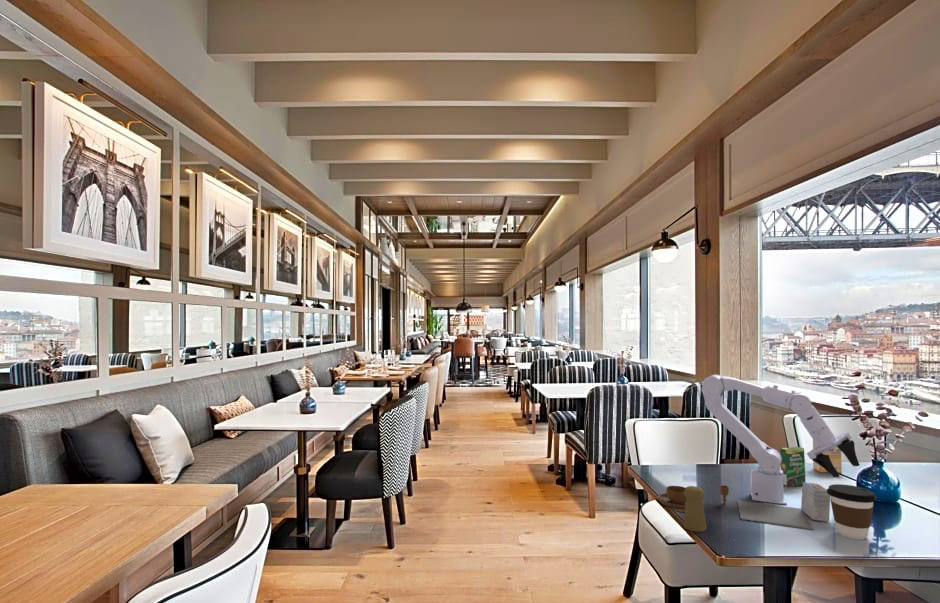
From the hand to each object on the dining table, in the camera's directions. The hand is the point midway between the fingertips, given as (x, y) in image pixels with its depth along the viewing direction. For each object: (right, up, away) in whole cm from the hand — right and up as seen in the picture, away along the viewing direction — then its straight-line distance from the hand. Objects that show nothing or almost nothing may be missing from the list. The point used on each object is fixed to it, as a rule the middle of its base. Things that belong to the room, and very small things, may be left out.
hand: (846, 471), depth 156 cm
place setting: (-45, -13, +5) cm, 47 cm away
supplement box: (+25, -15, +44) cm, 53 cm away
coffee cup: (-11, -12, -18) cm, 24 cm away
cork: (-52, -11, -13) cm, 55 cm away
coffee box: (0, -14, +26) cm, 29 cm away
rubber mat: (-24, -12, -3) cm, 27 cm away
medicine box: (-13, -12, -5) cm, 18 cm away
